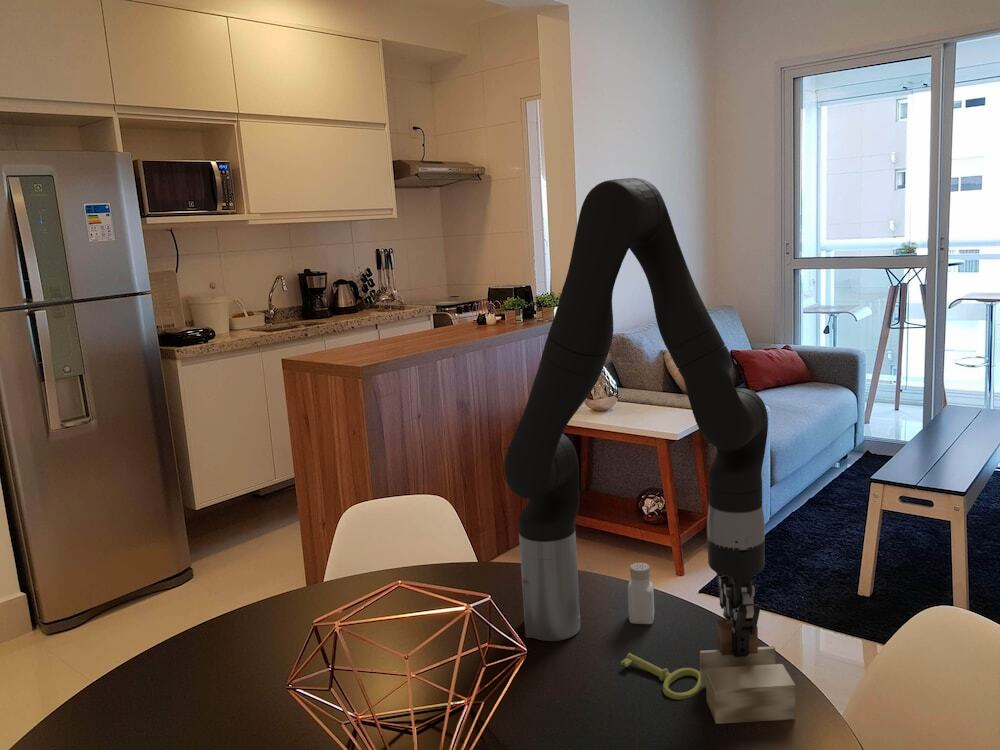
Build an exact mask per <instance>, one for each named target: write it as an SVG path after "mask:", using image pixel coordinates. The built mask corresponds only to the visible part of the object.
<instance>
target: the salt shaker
mask: <svg viewBox="0 0 1000 750" xmlns="http://www.w3.org/2000/svg"><path fill="white" fill-rule="evenodd" d="M629 572H630V581H629V582H628V586H627V603H628V605H627V607H628V620H629V622H630V623H631V624H635V625H637V624H638V625H639V624H640V625H652V624H653V623H654V618H655V595H654V594H655V593H654V591H655V589H654V582H652V581H651V580H650V578H651V567H650V564H647V563H644V562H634V563H631V565H630V566H629Z"/></svg>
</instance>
